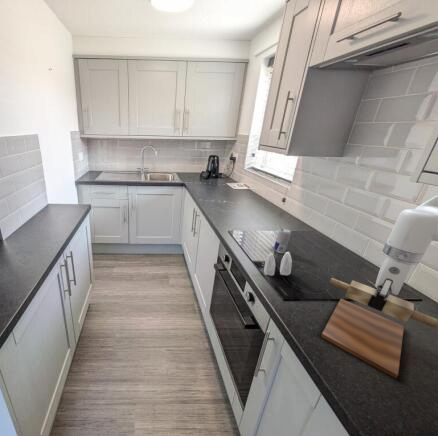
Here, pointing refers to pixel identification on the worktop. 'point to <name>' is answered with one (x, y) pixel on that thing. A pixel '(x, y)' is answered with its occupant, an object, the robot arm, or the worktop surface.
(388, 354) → the pastry board
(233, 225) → the worktop surface
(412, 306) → the rolling pin
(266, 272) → the shaker set
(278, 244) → the energy drink
